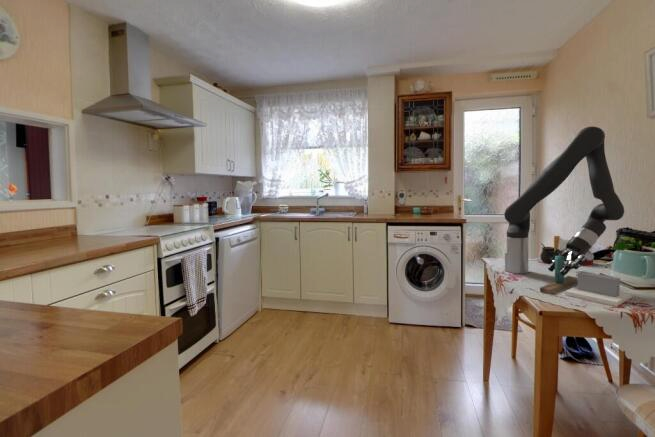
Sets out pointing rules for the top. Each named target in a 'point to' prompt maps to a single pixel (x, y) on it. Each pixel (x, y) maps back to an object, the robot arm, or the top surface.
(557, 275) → the teal peg on base
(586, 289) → the ridge stand
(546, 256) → the mate gourd
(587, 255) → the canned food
